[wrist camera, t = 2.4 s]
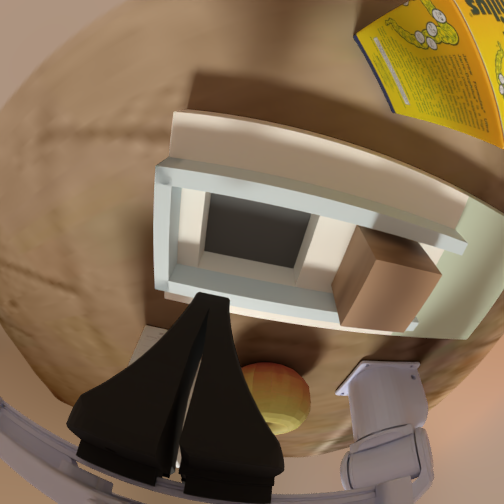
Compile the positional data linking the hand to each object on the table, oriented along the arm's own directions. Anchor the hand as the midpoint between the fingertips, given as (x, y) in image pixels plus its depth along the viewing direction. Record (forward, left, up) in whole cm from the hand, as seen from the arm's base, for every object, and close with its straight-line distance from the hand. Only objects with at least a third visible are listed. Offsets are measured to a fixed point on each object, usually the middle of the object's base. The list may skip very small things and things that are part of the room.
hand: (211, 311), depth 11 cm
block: (-10, 0, -7) cm, 12 cm away
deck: (-12, 0, -9) cm, 15 cm away
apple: (-7, +19, -10) cm, 22 cm away
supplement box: (-9, -14, -10) cm, 19 cm away
